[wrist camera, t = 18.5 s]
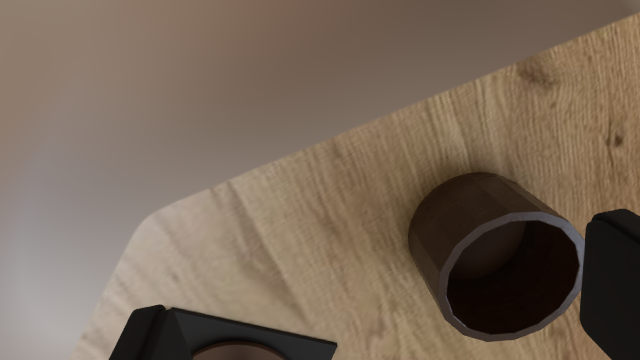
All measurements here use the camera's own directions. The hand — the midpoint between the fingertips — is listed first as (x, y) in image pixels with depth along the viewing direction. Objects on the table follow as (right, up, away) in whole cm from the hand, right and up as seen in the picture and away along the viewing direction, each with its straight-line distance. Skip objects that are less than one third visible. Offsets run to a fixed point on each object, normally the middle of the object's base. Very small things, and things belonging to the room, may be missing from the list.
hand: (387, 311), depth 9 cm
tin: (+14, -2, +33) cm, 36 cm away
